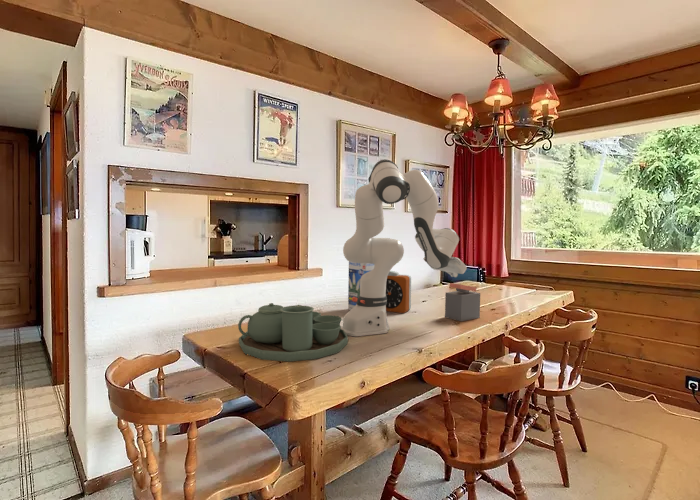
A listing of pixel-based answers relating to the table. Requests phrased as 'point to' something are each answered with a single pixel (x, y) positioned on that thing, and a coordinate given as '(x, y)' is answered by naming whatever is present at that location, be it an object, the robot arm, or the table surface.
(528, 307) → the table surface
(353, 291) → the string lights box
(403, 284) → the alarm clock
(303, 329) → the tea set
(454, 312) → the switch box
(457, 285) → the rocker
